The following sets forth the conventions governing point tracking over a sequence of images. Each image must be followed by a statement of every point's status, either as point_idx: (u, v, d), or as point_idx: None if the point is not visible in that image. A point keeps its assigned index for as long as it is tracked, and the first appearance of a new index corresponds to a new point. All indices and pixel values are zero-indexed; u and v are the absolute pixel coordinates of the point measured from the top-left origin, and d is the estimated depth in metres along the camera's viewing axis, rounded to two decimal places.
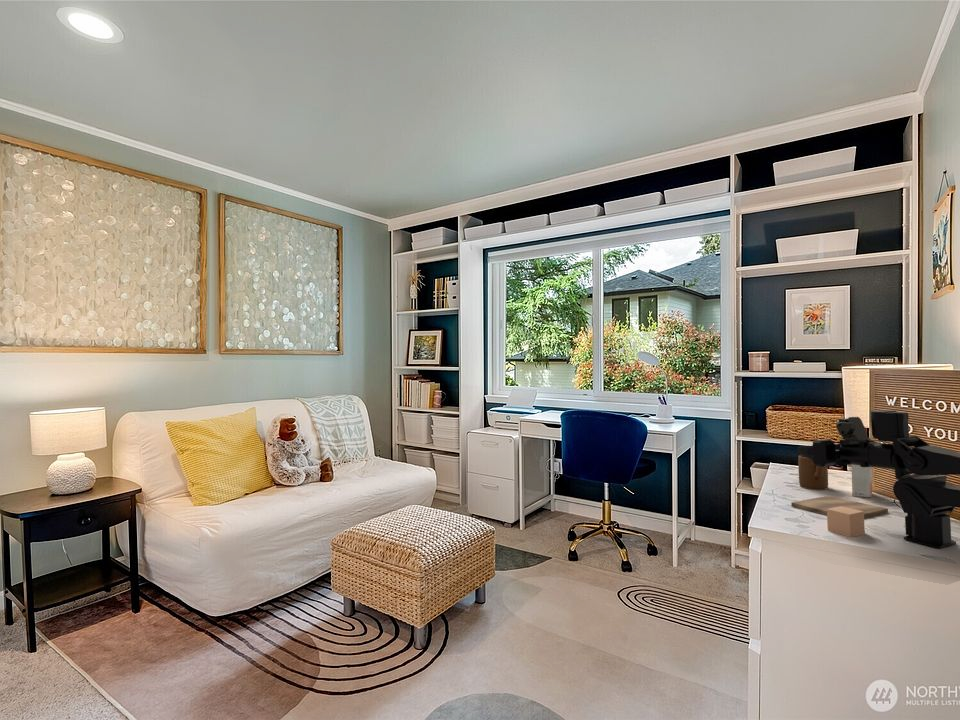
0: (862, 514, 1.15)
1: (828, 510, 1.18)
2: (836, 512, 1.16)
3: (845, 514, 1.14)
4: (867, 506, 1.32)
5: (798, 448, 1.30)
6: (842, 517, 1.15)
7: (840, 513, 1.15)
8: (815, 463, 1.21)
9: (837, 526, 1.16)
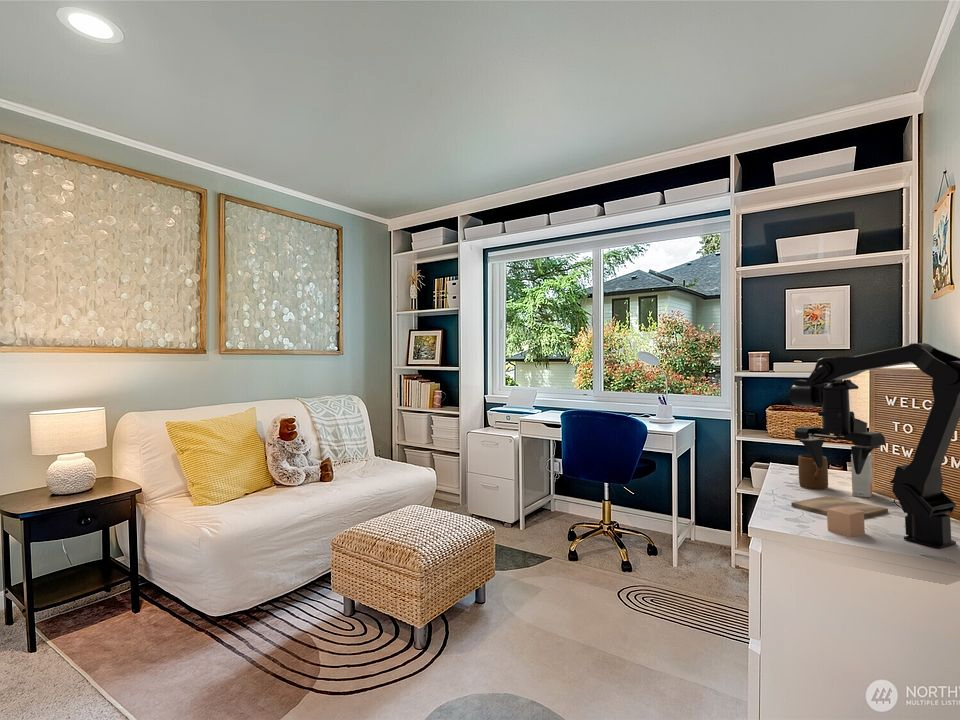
0: (862, 514, 1.15)
1: (828, 510, 1.18)
2: (836, 512, 1.16)
3: (845, 514, 1.14)
4: (867, 506, 1.32)
5: None
6: (842, 517, 1.15)
7: (840, 513, 1.15)
8: None
9: (837, 526, 1.16)
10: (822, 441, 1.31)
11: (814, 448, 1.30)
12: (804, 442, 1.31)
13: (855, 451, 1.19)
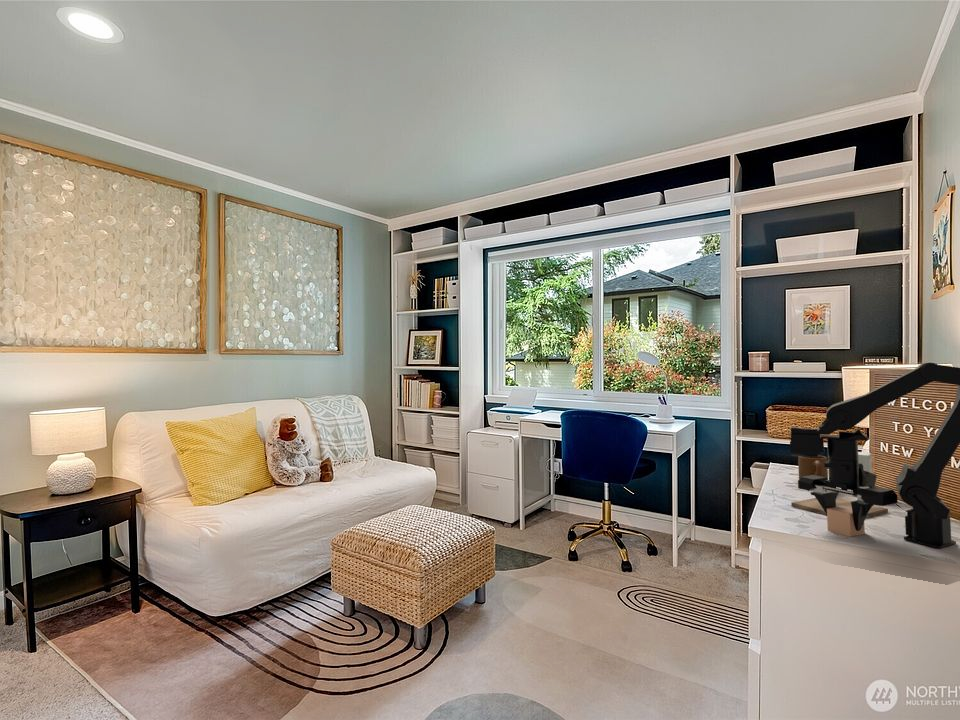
0: None
1: (828, 510, 1.18)
2: (836, 512, 1.16)
3: (845, 514, 1.14)
4: None
5: None
6: (842, 517, 1.15)
7: (840, 513, 1.15)
8: None
9: (837, 526, 1.16)
10: (836, 494, 1.20)
11: (828, 503, 1.19)
12: (816, 495, 1.20)
13: (855, 507, 1.12)
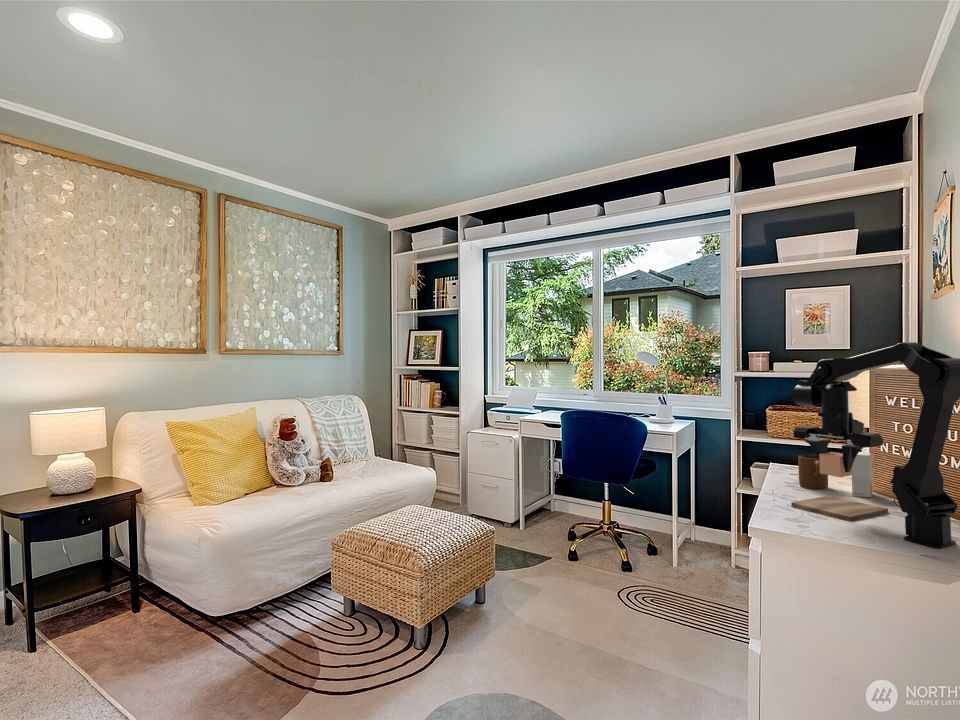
0: None
1: (820, 455, 1.30)
2: (828, 456, 1.28)
3: (836, 457, 1.26)
4: (867, 506, 1.32)
5: None
6: (833, 460, 1.27)
7: (831, 456, 1.27)
8: None
9: (829, 469, 1.28)
10: (827, 442, 1.33)
11: (820, 449, 1.31)
12: (810, 443, 1.32)
13: (845, 450, 1.24)
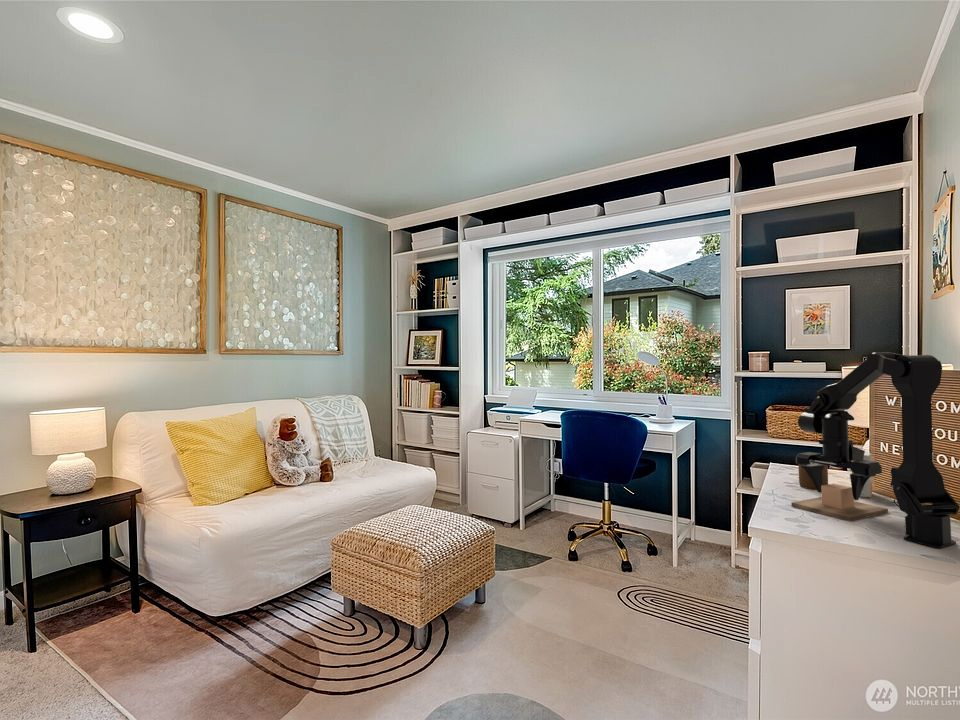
0: None
1: (822, 486, 1.35)
2: (829, 488, 1.33)
3: (837, 489, 1.31)
4: (867, 506, 1.32)
5: None
6: (834, 492, 1.32)
7: (833, 489, 1.32)
8: None
9: (830, 500, 1.33)
10: (822, 467, 1.39)
11: (815, 474, 1.38)
12: (805, 468, 1.38)
13: (854, 479, 1.27)
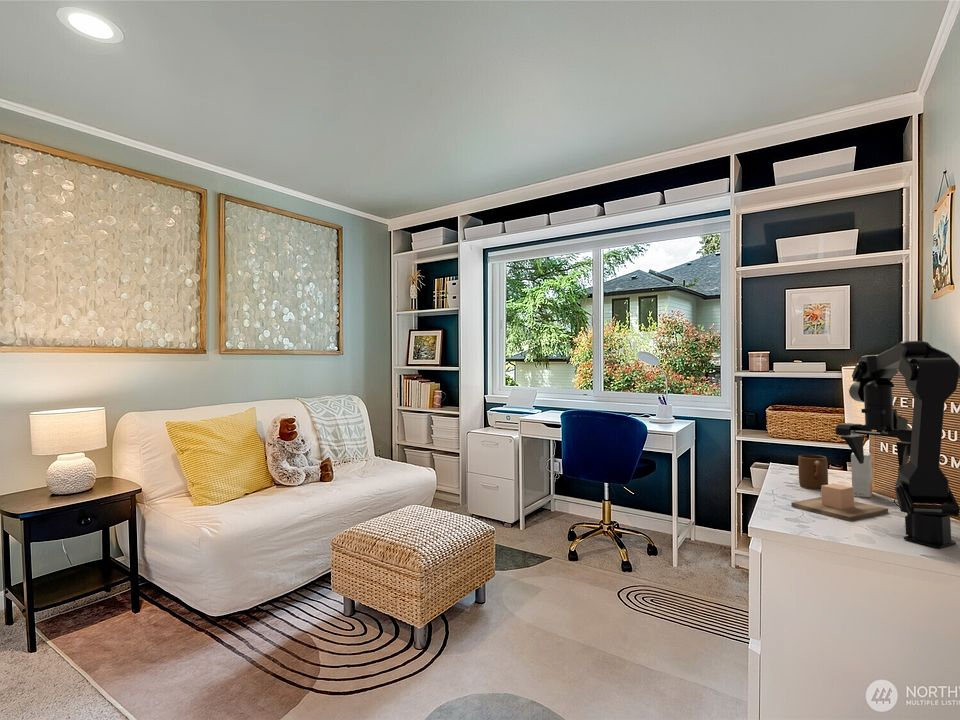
0: (852, 489, 1.32)
1: (822, 486, 1.35)
2: (829, 488, 1.33)
3: (837, 489, 1.31)
4: (867, 506, 1.32)
5: None
6: (834, 492, 1.32)
7: (833, 489, 1.32)
8: None
9: (830, 500, 1.33)
10: (863, 437, 1.34)
11: (856, 445, 1.33)
12: (846, 438, 1.34)
13: (900, 447, 1.23)
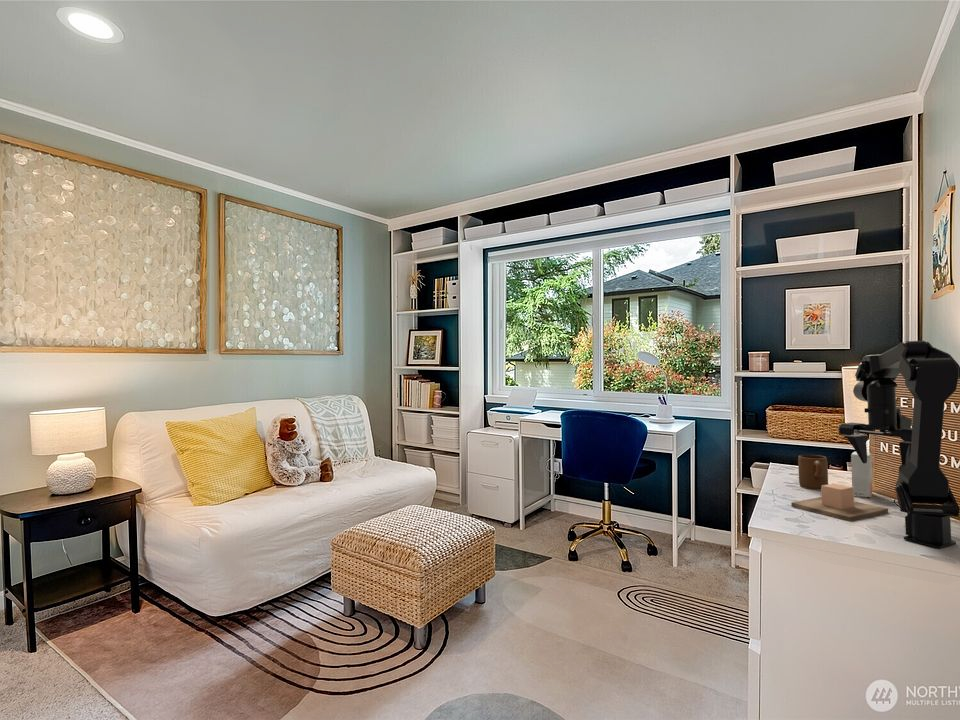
0: (852, 489, 1.32)
1: (822, 486, 1.35)
2: (829, 488, 1.33)
3: (837, 489, 1.31)
4: (867, 506, 1.32)
5: None
6: (834, 492, 1.32)
7: (833, 489, 1.32)
8: None
9: (830, 500, 1.33)
10: (866, 437, 1.34)
11: (859, 444, 1.33)
12: (849, 438, 1.34)
13: (903, 447, 1.22)
